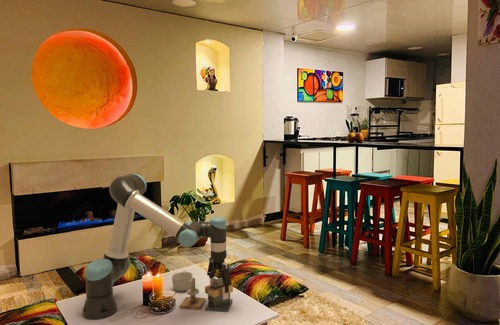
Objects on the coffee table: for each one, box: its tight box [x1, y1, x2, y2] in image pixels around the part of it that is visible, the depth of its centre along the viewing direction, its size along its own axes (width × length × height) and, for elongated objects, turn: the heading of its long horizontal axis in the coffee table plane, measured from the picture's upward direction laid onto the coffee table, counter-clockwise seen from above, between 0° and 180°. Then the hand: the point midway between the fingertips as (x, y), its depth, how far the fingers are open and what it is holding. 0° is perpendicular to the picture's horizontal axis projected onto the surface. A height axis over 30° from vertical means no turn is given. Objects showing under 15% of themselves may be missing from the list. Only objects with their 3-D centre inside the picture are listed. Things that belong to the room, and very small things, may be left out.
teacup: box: [171, 270, 193, 292], centre depth 208 cm, size 14×11×8 cm
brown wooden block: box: [204, 284, 234, 298], centre depth 186 cm, size 11×7×3 cm, turn 127°
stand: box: [179, 277, 207, 311], centre depth 188 cm, size 10×10×13 cm
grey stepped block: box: [204, 277, 233, 313], centre depth 186 cm, size 11×11×14 cm
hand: (219, 294), depth 186 cm, fingers open, 11 cm apart
